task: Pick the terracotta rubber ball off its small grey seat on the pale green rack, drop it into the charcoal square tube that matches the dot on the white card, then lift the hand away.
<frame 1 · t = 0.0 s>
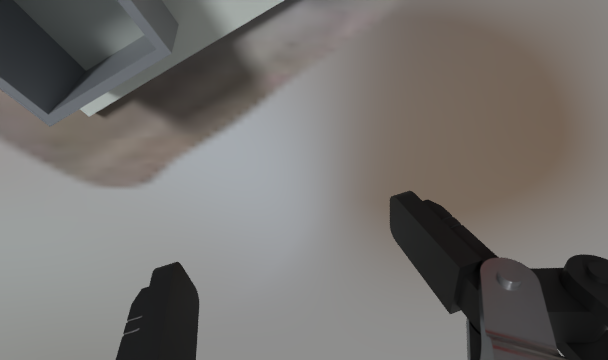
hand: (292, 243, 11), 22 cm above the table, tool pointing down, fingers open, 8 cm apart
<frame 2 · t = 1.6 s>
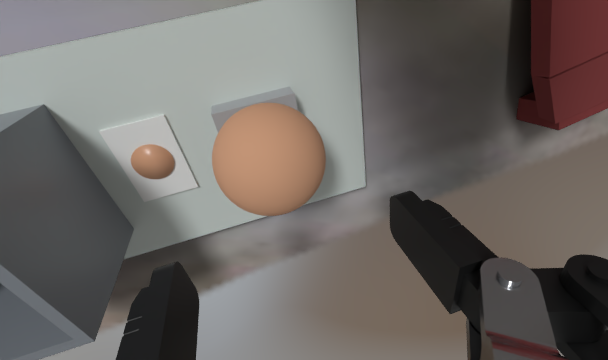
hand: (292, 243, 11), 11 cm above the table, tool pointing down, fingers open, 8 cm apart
ball: (270, 160, 15), point 5 cm above the table, touching ball rack
ball rack: (147, 155, 19), on the table
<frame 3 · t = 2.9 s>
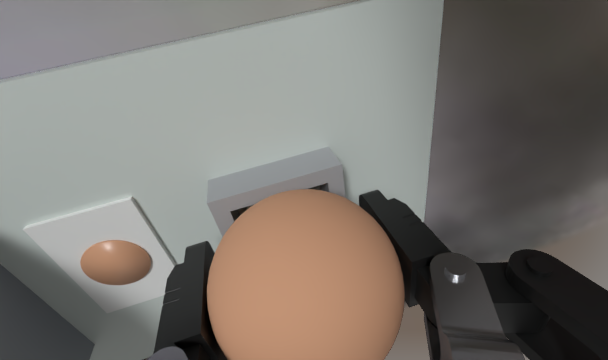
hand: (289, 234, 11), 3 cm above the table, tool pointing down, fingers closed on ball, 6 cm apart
ball: (305, 282, 9), point 5 cm above the table, touching ball rack, gripper
ball rack: (111, 246, 12), on the table
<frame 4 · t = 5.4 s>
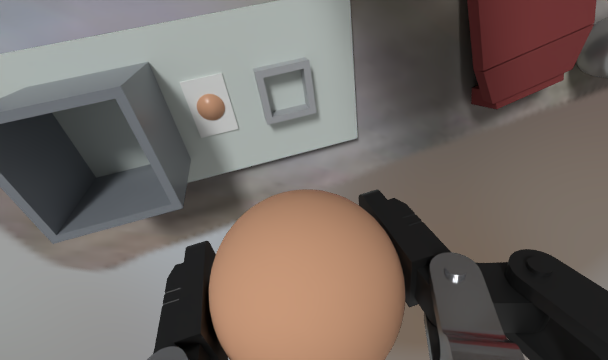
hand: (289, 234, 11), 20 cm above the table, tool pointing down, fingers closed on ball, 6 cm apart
ball: (306, 282, 9), point 22 cm above the table, touching gripper
ball rack: (204, 104, 27), on the table
plastic bottle: (589, 43, 34), on the table
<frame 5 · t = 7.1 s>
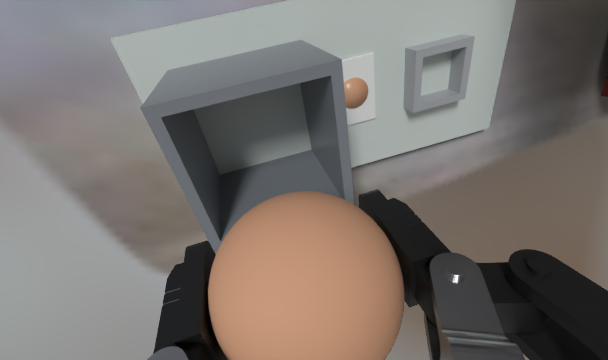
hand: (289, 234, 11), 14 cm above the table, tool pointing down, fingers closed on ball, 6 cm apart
ball: (305, 284, 9), point 17 cm above the table, touching gripper
ball rack: (341, 91, 24), on the table
when the fingers open (11 cm above the table, at t = 8.2 s): ball drops 9 cm, resting on ball rack.
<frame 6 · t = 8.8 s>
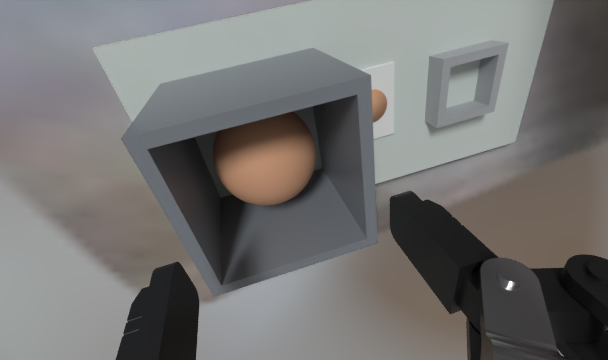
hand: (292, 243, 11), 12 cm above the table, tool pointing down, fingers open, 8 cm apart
ball: (265, 155, 17), point 4 cm above the table, touching ball rack
ball rack: (356, 103, 21), on the table
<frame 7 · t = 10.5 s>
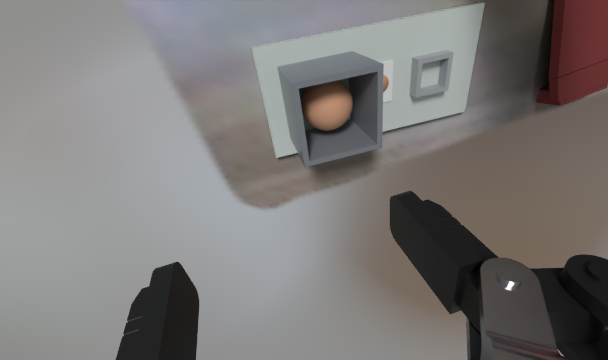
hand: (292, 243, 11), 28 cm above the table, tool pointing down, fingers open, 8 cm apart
ball: (326, 104, 34), point 4 cm above the table, touching ball rack
ball rack: (371, 82, 38), on the table
carton: (576, 6, 40), on the table
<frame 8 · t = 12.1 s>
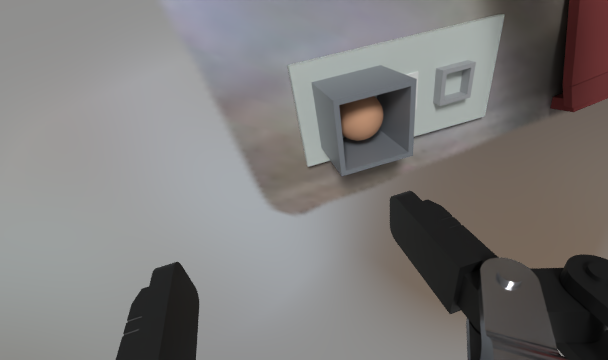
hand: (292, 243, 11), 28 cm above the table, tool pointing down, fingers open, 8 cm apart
ball: (358, 116, 36), point 4 cm above the table, touching ball rack
ball rack: (397, 93, 40), on the table
carton: (588, 17, 42), on the table
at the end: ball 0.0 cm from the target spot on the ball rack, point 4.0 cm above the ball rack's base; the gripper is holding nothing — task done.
